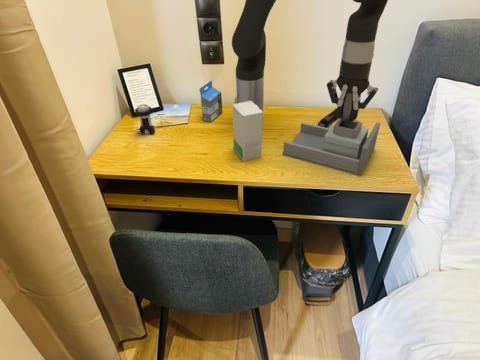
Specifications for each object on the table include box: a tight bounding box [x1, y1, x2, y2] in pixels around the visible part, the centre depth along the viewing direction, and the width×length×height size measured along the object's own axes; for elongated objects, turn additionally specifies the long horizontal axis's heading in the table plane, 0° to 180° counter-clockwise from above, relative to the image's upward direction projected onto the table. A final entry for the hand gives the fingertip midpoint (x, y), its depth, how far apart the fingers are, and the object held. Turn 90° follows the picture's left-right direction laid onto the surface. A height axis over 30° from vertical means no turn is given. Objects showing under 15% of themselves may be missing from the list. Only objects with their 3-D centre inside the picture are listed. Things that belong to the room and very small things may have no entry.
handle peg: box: [340, 92, 354, 128], centre depth 96 cm, size 3×3×12 cm
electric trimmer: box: [316, 108, 339, 128], centre depth 122 cm, size 4×16×3 cm, turn 142°
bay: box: [281, 122, 381, 177], centre depth 104 cm, size 24×16×9 cm, turn 60°
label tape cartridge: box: [199, 80, 223, 123], centre depth 125 cm, size 9×4×12 cm, turn 155°
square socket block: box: [322, 118, 369, 159], centre depth 101 cm, size 10×10×10 cm
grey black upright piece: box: [134, 104, 156, 136], centre depth 117 cm, size 7×5×10 cm
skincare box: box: [232, 101, 264, 162], centre depth 103 cm, size 8×7×16 cm
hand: (346, 118), depth 97 cm, fingers closed on handle peg, 3 cm apart
